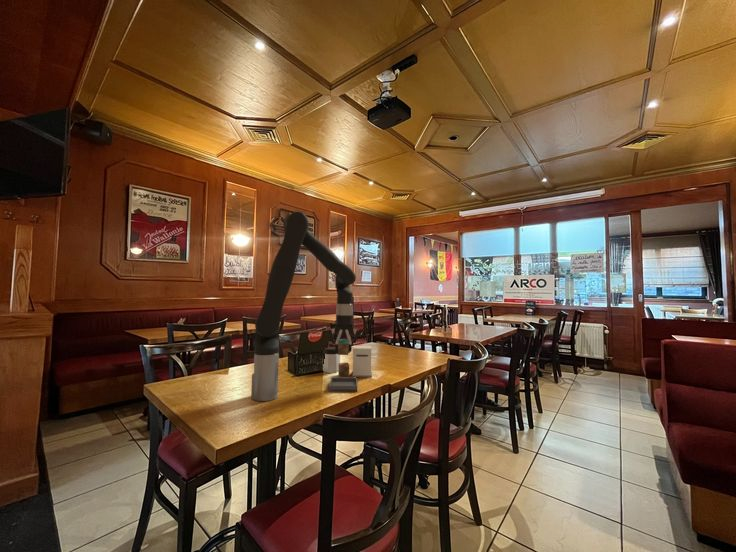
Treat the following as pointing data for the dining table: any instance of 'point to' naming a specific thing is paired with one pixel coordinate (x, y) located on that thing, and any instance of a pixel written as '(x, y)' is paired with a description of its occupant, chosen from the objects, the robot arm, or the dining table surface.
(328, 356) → the jar
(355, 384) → the tray
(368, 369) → the dispenser
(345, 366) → the rust block
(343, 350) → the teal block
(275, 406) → the dining table surface
